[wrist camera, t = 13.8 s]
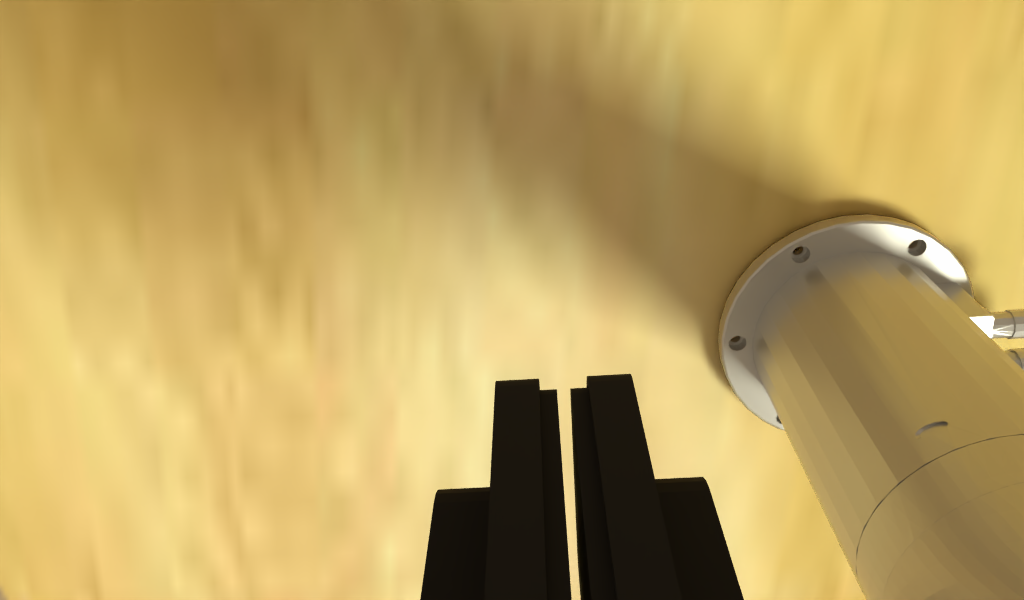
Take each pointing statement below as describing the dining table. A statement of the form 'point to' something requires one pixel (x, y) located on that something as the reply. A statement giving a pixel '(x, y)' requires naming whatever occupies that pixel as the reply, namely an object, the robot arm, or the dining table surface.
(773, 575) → the dining table surface
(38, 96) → the dining table surface
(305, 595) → the dining table surface
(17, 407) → the dining table surface
